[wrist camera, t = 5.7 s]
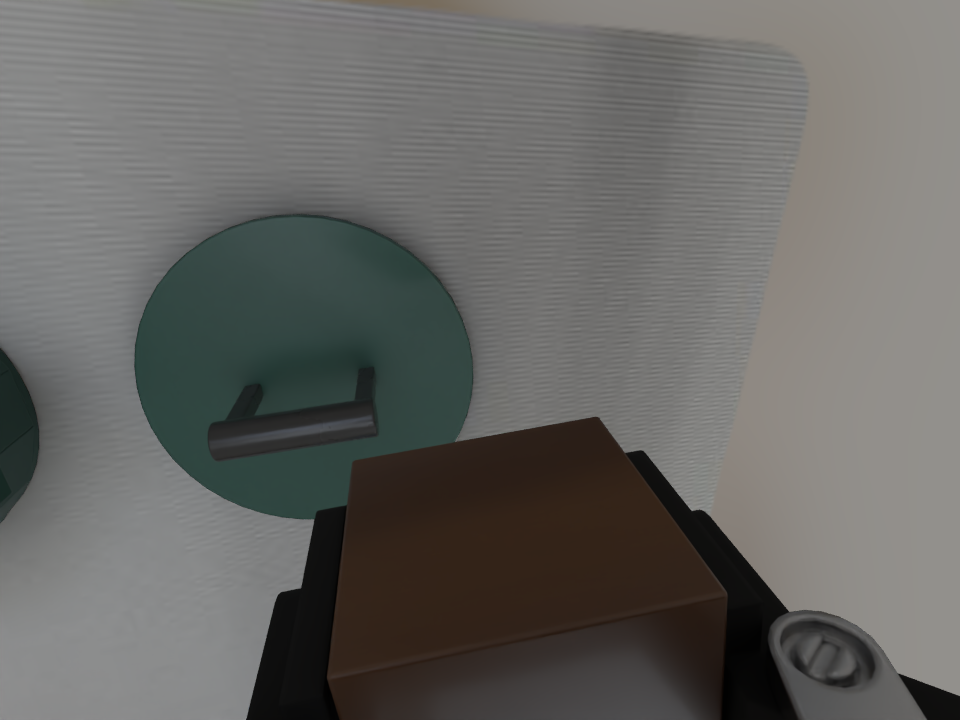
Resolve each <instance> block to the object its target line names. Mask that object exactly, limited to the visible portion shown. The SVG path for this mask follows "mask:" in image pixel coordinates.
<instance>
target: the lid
mask: <svg viewBox="0 0 960 720" xmlns="http://www.w3.org/2000/svg"><path fill="white" fill-rule="evenodd" d="M134 367H135V375H136V383H137V389H138V393H139V397H140V400H141V404H142V408H143V410H144V412H145V415H146V417H147V419H148V422H149V424H150V426H151V428H152V430H153V431H154V433H155V435H156V436H157V438H158V440H159V441H160V443H161V444H162V446H163V447H164V448H165V449H166V451H167V452H168V453H169V454H170V456H171V457H172V458H173V459H174V461H175V462H176V463H177V464H178V465H180V466H181V467H182V468H183V469H184V470H185V471H186V472H187V473H188V474H189V475H190V476H191V477H193V478H194V479H195V480H197V481H198V482H199V483H200V484H202V485H203V486H204V487H206V488H207V489H209V490H211V491H212V492H214V493H216V494H217V495H219V496H221V497H223V498H224V499H227V500H229V501H231V502H233V503H236V504H238V505H240V506H242V507H245V508H248V509H251V510H254V511H257V512H261V513H264V514H269V515H274V516H279V517H285V518H295V519H315V515H316V512H317V511H318V510H323V509H329V508H334V507H339V506H345V505H347V501H348V492H349V484H350V475H351V467H352V462H353V461H355V460H359V459H364V458H370V457H375V456H381V455H386V454H392V453H397V452H403V451H409V450H414V449H420V448H425V447H431V446H436V445H442V444H447V443H453V442H455V440H456V438H457V437H458V435H459V433H460V431H461V429H462V426H463V423H464V421H465V418H466V416H467V413H468V408H469V404H470V400H471V395H472V385H473V362H472V354H471V348H470V343H469V338H468V335H467V332H466V329H465V326H464V323H463V320H462V318H461V316H460V314H459V312H458V310H457V308H456V306H455V304H454V302H453V300H452V298H451V296H450V295H449V293H448V292H447V291H446V289H445V288H444V286H443V285H442V283H441V282H440V281H439V279H438V278H437V277H436V276H435V275H434V274H433V273H432V272H431V270H430V269H429V268H428V267H427V266H426V265H425V264H424V263H423V262H421V261H420V260H419V259H418V258H417V257H416V256H414V255H413V254H412V253H411V252H410V251H408V250H407V249H405V248H404V247H402V246H401V245H399V244H398V243H396V242H395V241H393V240H392V239H390V238H388V237H386V236H384V235H382V234H380V233H378V232H376V231H374V230H372V229H370V228H367V227H364V226H361V225H358V224H355V223H352V222H349V221H346V220H341V219H336V218H331V217H327V216H318V215H305V214H293V215H276V216H270V217H265V218H260V219H255V220H251V221H248V222H245V223H242V224H239V225H236V226H233V227H230V228H228V229H226V230H224V231H222V232H220V233H218V234H216V235H214V236H212V237H210V238H208V239H206V240H205V241H203V242H202V243H200V244H199V245H198V246H196V247H195V248H193V249H192V250H190V251H189V252H188V253H186V254H185V255H184V256H183V257H182V258H181V259H180V260H179V261H178V262H177V263H176V264H175V265H174V266H173V267H172V268H170V270H169V271H168V272H167V274H166V275H165V276H164V277H163V279H162V280H161V281H160V283H159V284H158V285H157V287H156V289H155V290H154V292H153V294H152V296H151V298H150V299H149V301H148V303H147V305H146V308H145V310H144V313H143V316H142V319H141V321H140V324H139V328H138V334H137V339H136V344H135V366H134Z"/></svg>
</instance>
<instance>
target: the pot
mask: <svg viewBox="0 0 960 720" xmlns="http://www.w3.org/2000/svg"><path fill="white" fill-rule="evenodd" d="M38 450H39V429H38V424H37V418H36V413H35V409H34V407H33V404H32V401H31V398H30V395H29V393H28V391H27V389H26V387H25V385H24V383H23V381H22V379H21V377H20V375H19V374H18V372H17V371H16V369H15V368H14V366H13V365H12V363H11V362H10V360H9V359H8V357H7V356H6V355H5V354H4V353H3V352H2V350H1V349H0V523H1V522H2V521H3V520H4V518H5V517H6V515H7V514H8V512H9V511H10V509H11V508H12V507H13V506H14V505H15V503H16V502H17V501H18V500H19V498H20V497H21V496H22V495H23V493H24V491H25V490H26V488H27V486H28V484H29V482H30V480H31V478H32V475H33V472H34V469H35V466H36V463H37V456H38Z"/></svg>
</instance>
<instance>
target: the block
mask: <svg viewBox="0 0 960 720" xmlns="http://www.w3.org/2000/svg"><path fill="white" fill-rule="evenodd" d="M727 601H728V596H727V592H726V590H725V589H724V588H723V586H722V585H721V583H720V582H719V581H718V579H717V578H716V577H715V575H714V574H713V573H712V571H711V570H710V568H709V567H708V566H707V564H706V563H705V562H704V560H703V559H702V558H701V556H700V555H699V553H698V552H697V551H696V549H695V548H694V547H693V545H692V544H691V543H690V541H689V540H688V538H687V537H686V536H685V534H684V533H683V532H682V530H681V529H680V528H679V526H678V525H677V523H676V522H675V521H674V519H673V518H672V517H671V515H670V514H669V513H668V511H667V510H666V508H665V507H664V506H663V504H662V503H661V502H660V500H659V499H658V498H657V496H656V495H655V493H654V492H653V491H652V489H651V488H650V487H649V485H648V484H647V483H646V481H645V480H644V478H643V477H642V476H641V474H640V473H639V472H638V470H637V469H636V468H635V466H634V465H633V463H632V462H631V461H630V459H629V458H628V457H627V455H626V454H625V453H624V451H623V450H622V448H621V447H620V446H619V444H618V443H617V442H616V440H615V439H614V438H613V436H612V435H611V433H610V432H609V431H608V429H607V428H606V427H605V425H604V424H603V423H602V421H601V420H600V418H599V417H591V418H586V419H580V420H575V421H569V422H564V423H558V424H553V425H547V426H542V427H536V428H530V429H525V430H519V431H514V432H508V433H503V434H497V435H492V436H486V437H481V438H475V439H470V440H464V441H458V442H453V443H447V444H442V445H436V446H431V447H425V448H420V449H414V450H409V451H403V452H397V453H392V454H386V455H381V456H375V457H370V458H364V459H359V460H355V461H353V462H352V467H351V475H350V484H349V492H348V501H347V510H346V518H345V527H344V535H343V544H342V552H341V561H340V569H339V578H338V586H337V595H336V603H335V612H334V620H333V629H332V638H331V646H330V655H329V663H328V672H327V680H328V683H329V687H330V690H331V693H332V697H333V700H334V703H335V706H336V710H337V713H338V716H339V719H340V720H722V714H723V692H724V669H725V646H726V623H727Z"/></svg>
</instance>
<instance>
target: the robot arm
mask: <svg viewBox="0 0 960 720" xmlns="http://www.w3.org/2000/svg"><path fill="white" fill-rule="evenodd" d="M625 454H626V455H627V457H628V458H629V459H630V461H631V462H632V463H633V465H634V466H635V468H636V469H637V470H638V472H639V473H640V474H641V476H642V477H643V478H644V480H645V481H646V483H647V484H648V485H649V487H650V488H651V489H652V491H653V492H654V493H655V495H656V496H657V498H658V499H659V500H660V502H661V503H662V504H663V506H664V507H665V508H666V510H667V511H668V513H669V514H670V515H671V517H672V518H673V519H674V521H675V522H676V523H677V525H678V526H679V528H680V529H681V530H682V532H683V533H684V534H685V536H686V537H687V538H688V540H689V541H690V543H691V544H692V545H693V547H694V548H695V549H696V551H697V552H698V553H699V555H700V556H701V558H702V559H703V560H704V562H705V563H706V564H707V566H708V567H709V568H710V570H711V571H712V573H713V574H714V575H715V577H716V578H717V579H718V581H719V582H720V583H721V585H722V586H723V588H724V589H725V590H726V592H727V596H728V601H727V623H726V646H725V669H724V692H723V714H722V720H960V696H958V695H955V694H952V693H950V692H947V691H944V690H941V689H939V688H936V687H934V686H931V685H928V684H925V683H923V682H920V681H917V680H915V679H912V678H909V677H907V676H904V675H901V674H898V673H897V672H896V670H895V669H894V667H893V666H892V664H891V662H890V661H889V659H888V657H887V656H886V655H885V653H884V651H883V650H882V649H881V647H880V646H879V645H878V644H877V643H876V641H875V640H874V639H873V638H872V637H871V636H870V635H869V634H867V633H866V632H865V631H863V630H862V629H861V628H859V627H858V626H857V625H855V624H853V623H851V622H849V621H847V620H845V619H843V618H841V617H839V616H835V615H832V614H828V613H825V612H821V611H811V610H801V611H794V612H789V611H788V610H787V609H786V607H785V606H784V605H783V604H782V603H781V601H780V600H779V599H778V598H777V597H776V595H775V594H774V593H773V592H772V591H771V589H770V588H769V587H768V586H767V585H766V583H765V582H764V581H763V580H762V579H761V577H760V576H759V575H758V574H757V573H756V571H755V570H754V569H753V568H752V567H751V565H750V564H749V563H748V562H747V560H746V559H745V558H744V557H743V556H742V555H741V553H740V552H739V551H738V550H737V548H736V547H735V546H734V545H733V544H732V542H731V541H730V540H729V539H728V538H727V536H726V535H725V534H724V533H723V532H722V531H721V529H720V528H719V527H718V526H717V524H716V523H715V522H714V521H713V520H712V518H711V517H710V516H709V515H708V514H707V513H706V512H705V511H702V510H696V511H691V510H690V509H689V507H688V506H687V505H686V504H685V502H684V501H683V500H682V499H681V497H680V496H679V495H678V494H677V492H676V491H675V490H674V488H673V487H672V486H671V485H670V483H669V482H668V481H667V480H666V478H665V477H664V476H663V475H662V473H661V472H660V471H659V470H658V468H657V467H656V466H655V465H654V463H653V462H652V461H651V460H650V458H649V457H648V456H647V455H646V453H645V452H644V451H642V450H639V451H634V452H629V453H625ZM346 510H347V505H345V506H339V507H334V508H329V509H323V510H318V511H317V512H316V515H315V520H314V526H313V531H312V536H311V541H310V546H309V551H308V556H307V561H306V566H305V571H304V577H303V582H302V587H301V588H300V589H295V590H290V591H285V592H281V593H280V594H279V595H278V596H277V599H276V602H275V605H274V609H273V613H272V617H271V621H270V625H269V629H268V634H267V638H266V642H265V646H264V650H263V654H262V658H261V662H260V666H259V670H258V674H257V678H256V682H255V686H254V690H253V695H252V699H251V703H250V707H249V711H248V715H247V719H246V720H340V719H339V716H338V713H337V710H336V706H335V703H334V700H333V697H332V693H331V690H330V687H329V683H328V680H327V672H328V663H329V655H330V646H331V638H332V629H333V620H334V612H335V603H336V595H337V586H338V578H339V569H340V561H341V552H342V544H343V535H344V527H345V518H346Z"/></svg>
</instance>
